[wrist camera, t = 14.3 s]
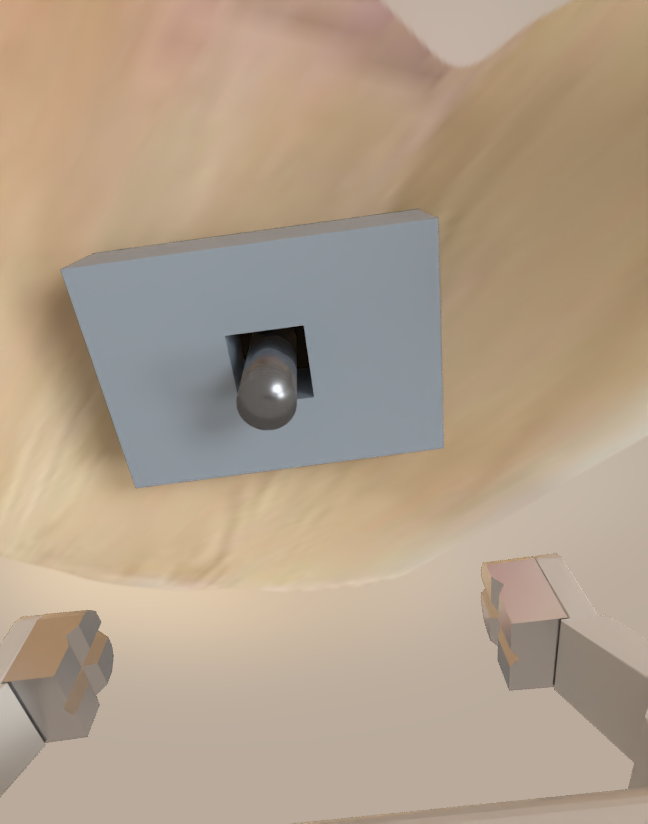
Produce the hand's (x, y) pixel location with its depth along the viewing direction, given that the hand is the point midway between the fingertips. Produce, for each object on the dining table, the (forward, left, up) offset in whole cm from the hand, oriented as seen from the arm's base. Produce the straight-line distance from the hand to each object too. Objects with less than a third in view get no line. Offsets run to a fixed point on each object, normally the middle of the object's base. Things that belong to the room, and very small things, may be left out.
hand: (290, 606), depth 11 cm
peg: (+2, +2, -26) cm, 26 cm away
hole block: (+2, +2, -26) cm, 26 cm away
